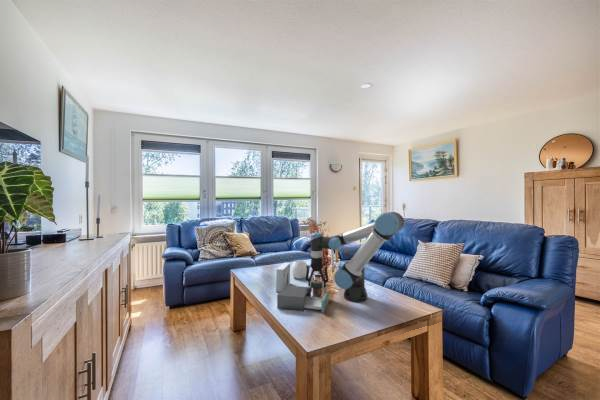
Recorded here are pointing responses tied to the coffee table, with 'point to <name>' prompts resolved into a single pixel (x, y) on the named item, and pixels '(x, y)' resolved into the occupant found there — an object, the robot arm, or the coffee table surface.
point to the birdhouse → (317, 302)
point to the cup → (299, 269)
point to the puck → (316, 284)
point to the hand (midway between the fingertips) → (317, 291)
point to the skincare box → (282, 277)
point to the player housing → (293, 298)
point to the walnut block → (316, 292)
